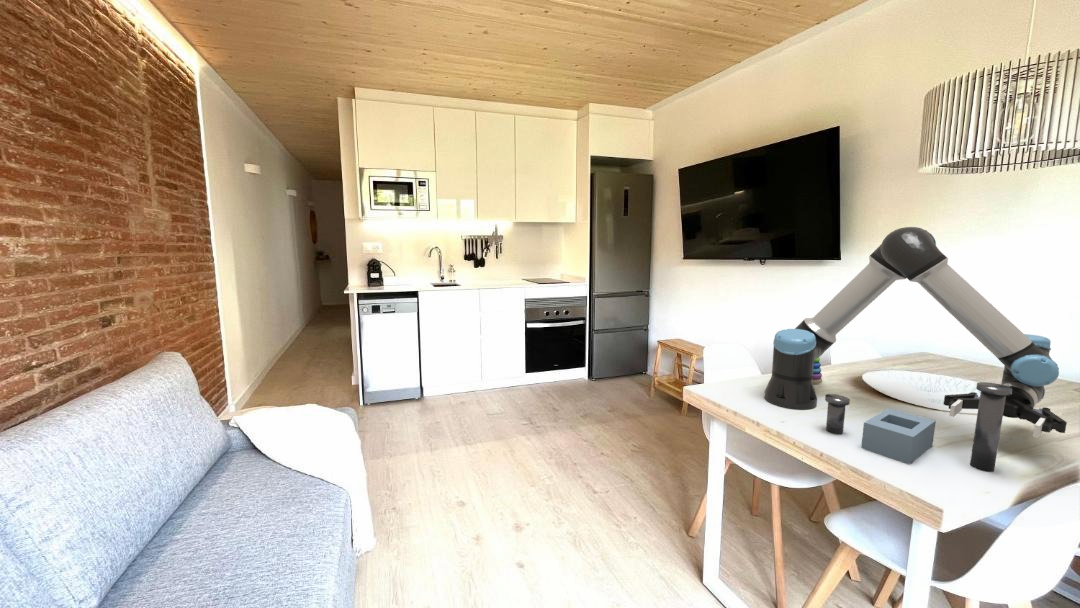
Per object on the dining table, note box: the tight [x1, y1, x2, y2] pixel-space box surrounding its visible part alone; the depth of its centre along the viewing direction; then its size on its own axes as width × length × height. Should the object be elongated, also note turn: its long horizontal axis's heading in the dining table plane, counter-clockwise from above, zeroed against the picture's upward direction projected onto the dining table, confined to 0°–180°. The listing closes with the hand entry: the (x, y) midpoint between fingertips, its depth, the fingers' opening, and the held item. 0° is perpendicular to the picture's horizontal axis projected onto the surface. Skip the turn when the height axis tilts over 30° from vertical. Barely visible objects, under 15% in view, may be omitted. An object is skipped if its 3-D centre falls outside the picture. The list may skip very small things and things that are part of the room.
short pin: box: [824, 393, 851, 435], centre depth 120 cm, size 6×6×10 cm
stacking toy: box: [812, 357, 823, 385], centre depth 160 cm, size 8×8×19 cm
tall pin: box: [969, 381, 1012, 473], centre depth 100 cm, size 6×6×20 cm
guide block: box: [861, 407, 937, 465], centre depth 111 cm, size 16×10×7 cm, turn 123°
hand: (991, 420), depth 99 cm, fingers open, 13 cm apart
